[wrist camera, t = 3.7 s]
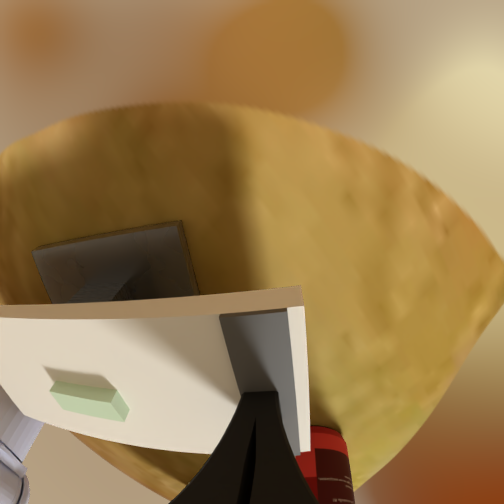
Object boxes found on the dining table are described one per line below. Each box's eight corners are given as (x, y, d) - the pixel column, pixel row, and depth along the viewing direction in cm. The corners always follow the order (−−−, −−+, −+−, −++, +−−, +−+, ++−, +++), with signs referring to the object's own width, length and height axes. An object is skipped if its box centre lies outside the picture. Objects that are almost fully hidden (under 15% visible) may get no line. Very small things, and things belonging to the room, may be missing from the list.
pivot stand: (106, 387, 19) (88, 422, 16) (38, 246, 15) (0, 273, 11) (229, 393, 18) (222, 439, 15) (181, 220, 14) (152, 252, 10)
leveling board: (34, 399, 16) (19, 422, 13) (-26, 300, 12) (-50, 320, 10) (308, 423, 14) (311, 464, 11) (299, 276, 10) (306, 322, 8)
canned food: (246, 459, 22) (236, 562, 12) (269, 417, 19) (262, 555, 9) (322, 466, 23) (328, 561, 13) (361, 425, 20) (381, 545, 9)
